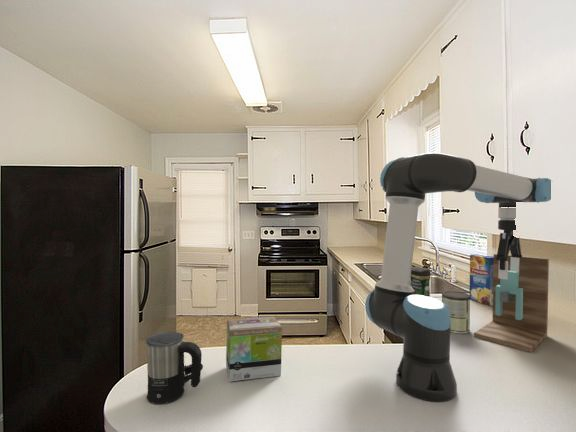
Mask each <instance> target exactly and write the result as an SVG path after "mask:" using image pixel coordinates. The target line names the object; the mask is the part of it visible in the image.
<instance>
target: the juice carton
mask: <svg viewBox="0 0 576 432" xmlns="http://www.w3.org/2000/svg"><path fill="white" fill-rule="evenodd" d="M493 262H494V255H488V254H482V253H480V254H479V253H478V254H470V255H469V293H468V294H469V295H470V301H474V302H476V303H480V304H484V305H487V306H493Z"/></svg>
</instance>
